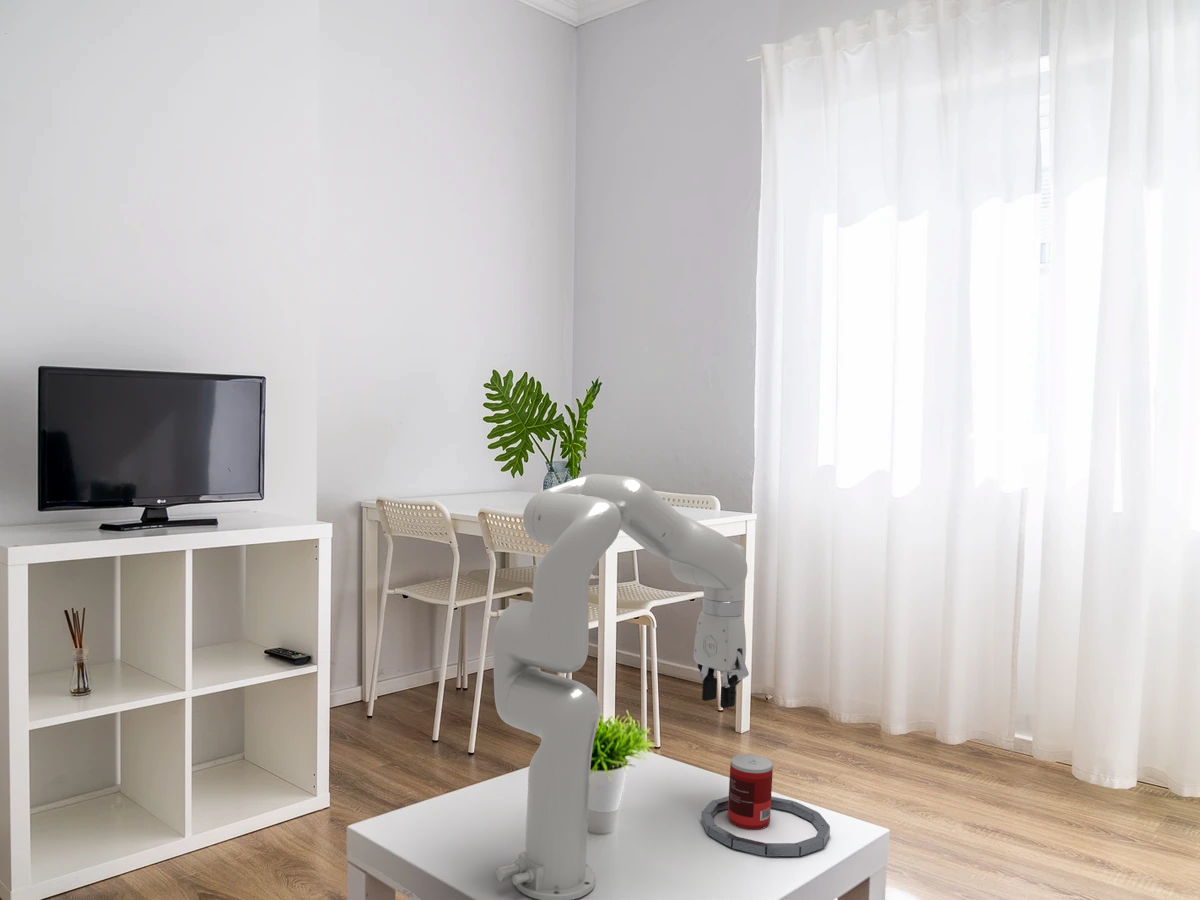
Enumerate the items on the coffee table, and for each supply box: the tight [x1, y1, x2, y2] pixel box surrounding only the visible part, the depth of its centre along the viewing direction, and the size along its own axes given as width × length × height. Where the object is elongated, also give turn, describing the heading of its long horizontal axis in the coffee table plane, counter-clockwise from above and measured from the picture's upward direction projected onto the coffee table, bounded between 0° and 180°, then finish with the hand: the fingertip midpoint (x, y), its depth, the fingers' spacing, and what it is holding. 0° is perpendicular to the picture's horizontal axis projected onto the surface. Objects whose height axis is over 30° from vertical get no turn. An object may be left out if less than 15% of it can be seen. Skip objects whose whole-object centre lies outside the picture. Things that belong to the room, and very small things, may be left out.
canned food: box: [727, 753, 774, 830], centre depth 169 cm, size 8×8×11 cm
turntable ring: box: [700, 795, 831, 857], centre depth 166 cm, size 22×22×3 cm
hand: (718, 702), depth 177 cm, fingers open, 4 cm apart
